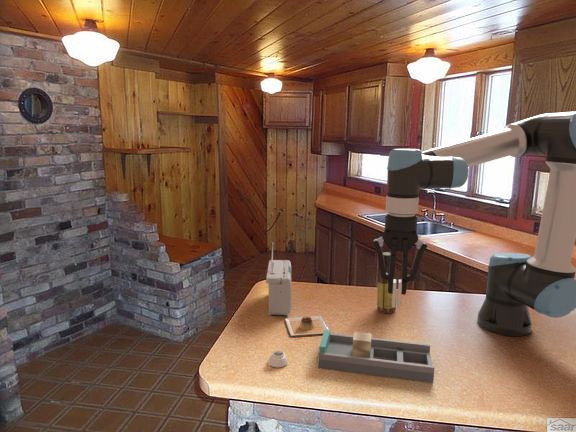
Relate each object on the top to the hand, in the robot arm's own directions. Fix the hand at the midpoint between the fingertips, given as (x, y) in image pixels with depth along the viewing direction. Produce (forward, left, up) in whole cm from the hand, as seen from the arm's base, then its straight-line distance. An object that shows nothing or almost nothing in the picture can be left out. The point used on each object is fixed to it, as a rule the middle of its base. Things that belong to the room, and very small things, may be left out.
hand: (396, 305), depth 108 cm
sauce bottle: (+2, -35, -17) cm, 39 cm away
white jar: (+29, +6, -17) cm, 34 cm away
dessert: (+26, -16, -17) cm, 35 cm away
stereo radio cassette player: (+38, -32, -17) cm, 52 cm away
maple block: (+8, 0, -14) cm, 16 cm away
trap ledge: (+4, 0, -16) cm, 17 cm away
